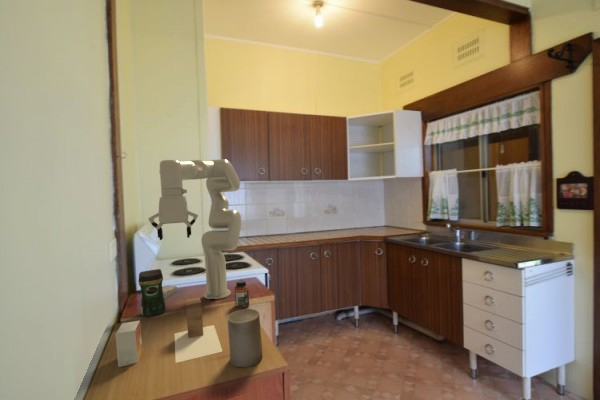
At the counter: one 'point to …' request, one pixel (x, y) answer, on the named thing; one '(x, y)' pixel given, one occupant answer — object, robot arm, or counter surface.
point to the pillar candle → (244, 337)
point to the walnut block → (194, 317)
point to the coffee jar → (151, 292)
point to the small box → (128, 343)
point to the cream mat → (196, 344)
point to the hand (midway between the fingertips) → (175, 238)
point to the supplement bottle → (241, 294)
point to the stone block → (169, 290)
